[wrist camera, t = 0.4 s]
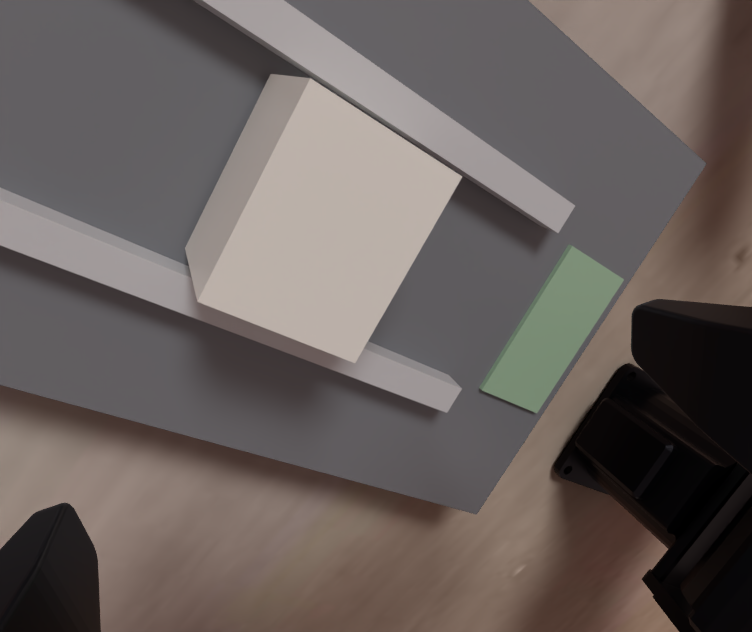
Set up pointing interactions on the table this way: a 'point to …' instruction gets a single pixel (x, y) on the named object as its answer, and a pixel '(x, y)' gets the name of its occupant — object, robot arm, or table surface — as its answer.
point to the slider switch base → (423, 280)
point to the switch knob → (315, 219)
